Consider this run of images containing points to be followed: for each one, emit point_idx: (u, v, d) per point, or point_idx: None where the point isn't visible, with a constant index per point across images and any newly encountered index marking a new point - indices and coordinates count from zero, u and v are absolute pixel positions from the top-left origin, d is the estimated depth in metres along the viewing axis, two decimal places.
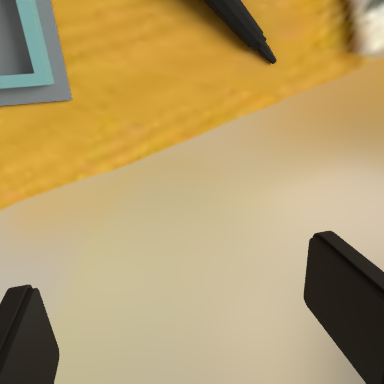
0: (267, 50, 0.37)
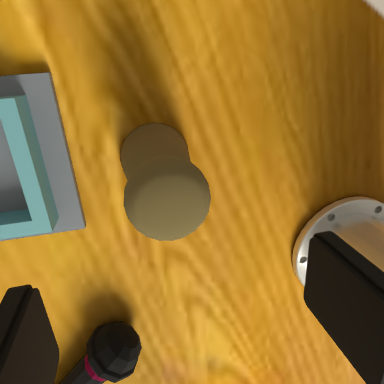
0: None
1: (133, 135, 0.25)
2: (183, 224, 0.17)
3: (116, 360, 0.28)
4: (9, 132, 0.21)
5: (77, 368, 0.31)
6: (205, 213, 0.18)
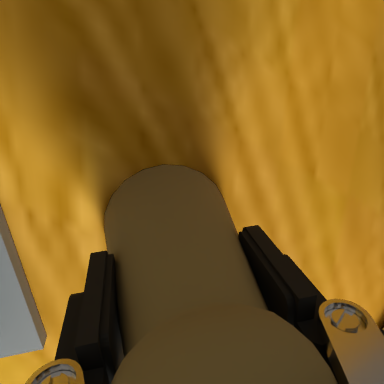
0: None
1: (126, 191, 0.13)
2: None
3: None
4: None
5: None
6: None
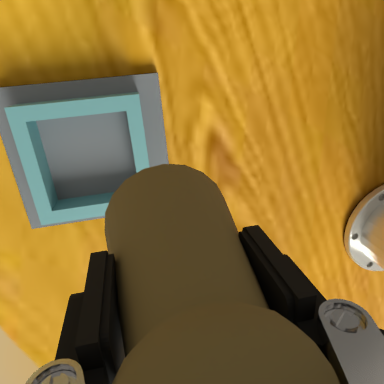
0: None
1: (127, 190, 0.13)
2: None
3: None
4: (131, 122, 0.25)
5: None
6: None
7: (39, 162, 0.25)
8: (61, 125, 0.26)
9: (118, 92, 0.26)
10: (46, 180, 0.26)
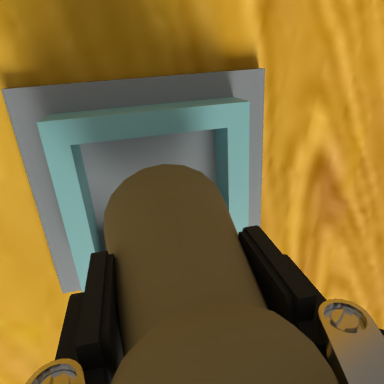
0: None
1: (126, 190, 0.13)
2: None
3: None
4: (233, 145, 0.16)
5: None
6: None
7: (86, 205, 0.16)
8: (116, 146, 0.17)
9: (204, 97, 0.17)
10: (93, 231, 0.17)
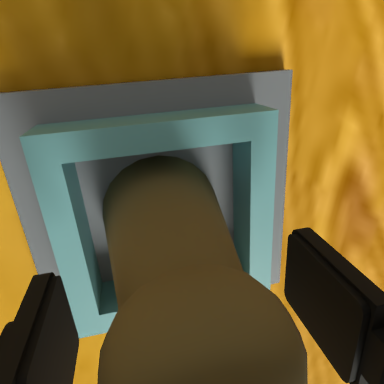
0: None
1: (124, 179, 0.14)
2: None
3: None
4: (257, 162, 0.13)
5: None
6: None
7: (81, 233, 0.14)
8: (117, 162, 0.15)
9: (222, 103, 0.15)
10: (90, 261, 0.15)
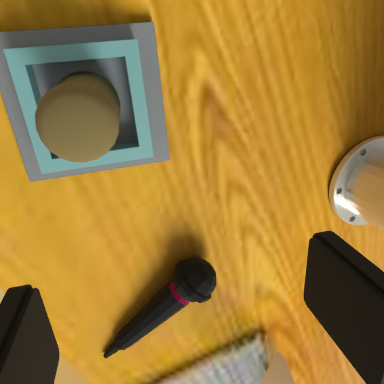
0: (114, 351, 0.40)
1: (61, 80, 0.26)
2: (90, 143, 0.19)
3: (203, 283, 0.35)
4: (130, 68, 0.26)
5: (162, 295, 0.37)
6: (111, 134, 0.20)
7: None
8: (58, 73, 0.27)
9: (115, 41, 0.27)
10: None
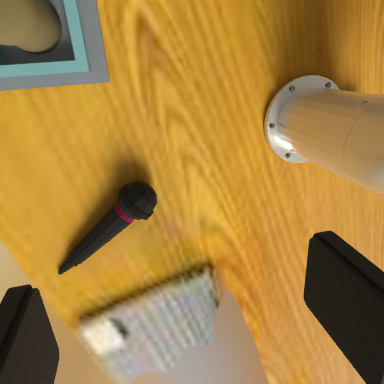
0: (67, 267, 0.45)
1: None
2: (7, 22, 0.24)
3: (141, 199, 0.40)
4: None
5: (108, 213, 0.42)
6: (26, 17, 0.24)
7: None
8: None
9: None
10: None
